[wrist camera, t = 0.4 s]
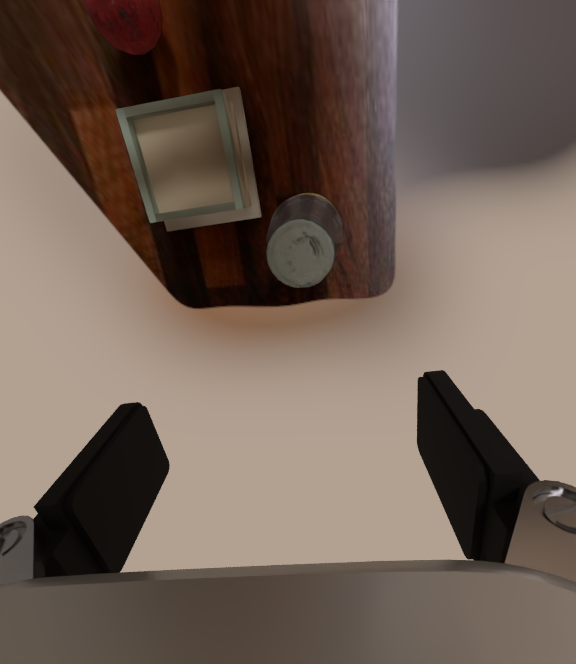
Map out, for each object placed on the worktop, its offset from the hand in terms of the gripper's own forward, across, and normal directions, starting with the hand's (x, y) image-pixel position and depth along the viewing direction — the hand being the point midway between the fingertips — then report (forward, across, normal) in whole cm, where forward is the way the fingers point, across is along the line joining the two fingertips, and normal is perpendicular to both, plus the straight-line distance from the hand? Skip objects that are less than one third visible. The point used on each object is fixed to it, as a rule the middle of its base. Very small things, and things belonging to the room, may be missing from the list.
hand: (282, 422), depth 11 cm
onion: (+30, +11, -23) cm, 39 cm away
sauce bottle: (+30, -2, -4) cm, 30 cm away
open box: (+30, +9, -11) cm, 33 cm away
